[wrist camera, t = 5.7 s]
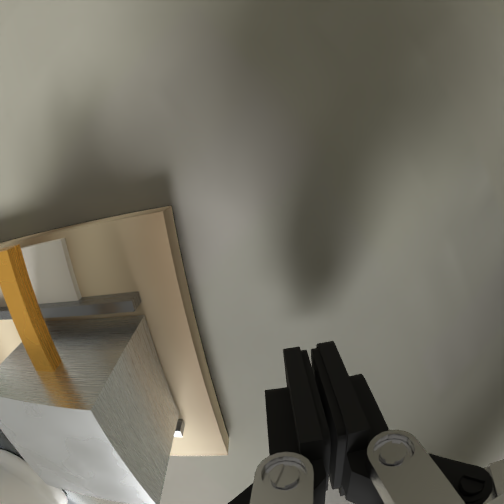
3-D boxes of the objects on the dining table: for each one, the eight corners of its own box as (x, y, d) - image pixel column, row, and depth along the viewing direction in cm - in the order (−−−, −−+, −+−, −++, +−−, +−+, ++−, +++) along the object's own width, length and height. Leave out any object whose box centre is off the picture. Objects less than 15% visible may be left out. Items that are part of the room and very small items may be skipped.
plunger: (118, 210, 10) (26, 257, 5) (179, 413, 12) (158, 507, 7) (15, 234, 10) (-75, 279, 5) (85, 409, 12) (46, 484, 8)
